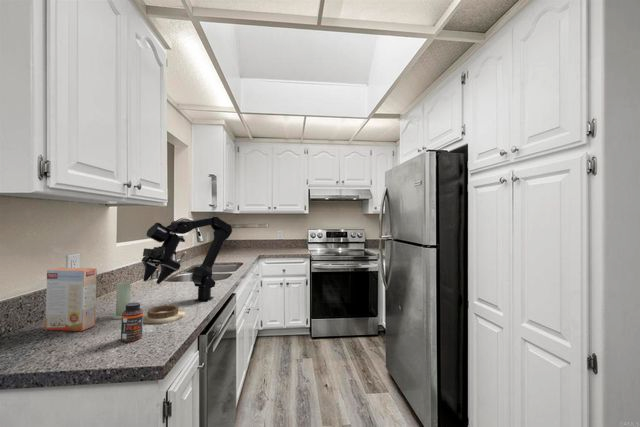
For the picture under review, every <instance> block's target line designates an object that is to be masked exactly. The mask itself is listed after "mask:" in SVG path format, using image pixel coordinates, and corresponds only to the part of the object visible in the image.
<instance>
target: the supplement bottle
mask: <svg viewBox="0 0 640 427" xmlns="http://www.w3.org/2000/svg"><path fill="white" fill-rule="evenodd" d="M143 314H144V311H143V308H141V303H140V302H136V301H135V302H130V303H128V304H126V310H125V311H124V312H123V313H122V319H120V321H121V324H120V325H121V327H120V340H121V341H122V342H125V343H131V342H136V341H138V340H140V339H141V338H142V337H143V332H144V331H143V329H144V328H143V326H144V323H143Z"/></svg>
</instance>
